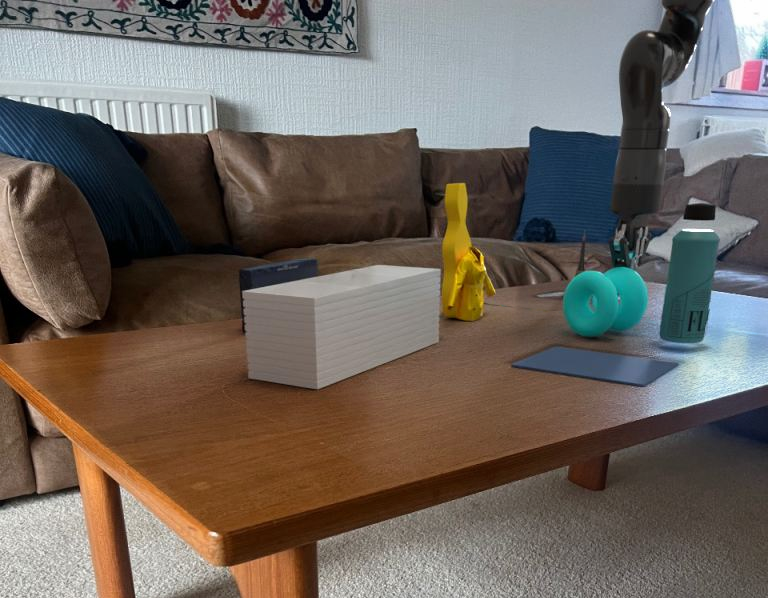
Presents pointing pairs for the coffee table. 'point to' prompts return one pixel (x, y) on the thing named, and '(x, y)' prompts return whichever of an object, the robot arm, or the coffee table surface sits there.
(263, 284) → the vhs cassette tape
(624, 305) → the donuts
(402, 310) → the stack of papers
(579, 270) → the eiffel tower figurine
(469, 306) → the figure statuette
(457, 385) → the coffee table surface
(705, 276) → the beverage bottle
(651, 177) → the robot arm
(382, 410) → the coffee table surface
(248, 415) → the coffee table surface
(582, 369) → the felt mat
